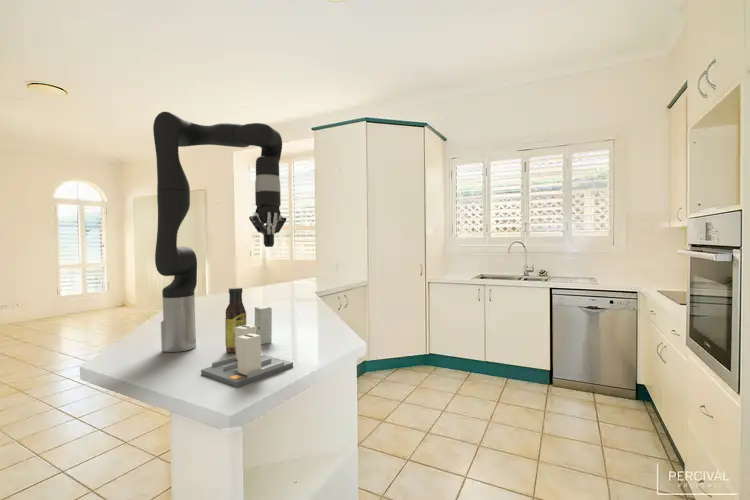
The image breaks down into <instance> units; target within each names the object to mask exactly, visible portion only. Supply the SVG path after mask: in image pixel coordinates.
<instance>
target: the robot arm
mask: <svg viewBox="0 0 750 500" xmlns="http://www.w3.org/2000/svg"><path fill="white" fill-rule="evenodd" d="M152 126H153V127H152V130H153V138H154V147H155V149H154V150H155V157H156V174H157V175H156V176H157V177H156V178H157V186H156V187H157V188H156V193H157V194H156V196H157V197H156V198H157V200H156V201H157V202H156V203H157V229H156V230H157V232H156V242H155V251H154V252H155V253H154V254H155V255H154V263H155V268H156V271H157V272H158V274H160V275H161V276H163V277H172V276H173V279H172V282H171V283H170V284H168V285H167V286H165V287H163V288H162V291H161V292H162V316H163V317H162V319H163V320H162V321H160V338H161V340H160V341H161V343H160V345H161V352H166V353H179V352H186V351H189V350H192V349H195V348H196V347H197V332H196V330H197V329H196V302H195V300H196V298H195V296H196V295H195V292H196V291H195V290H196V287H197V285H198V284H197V283H198V282H197V280H198V278H197V277H198V259H197V255H196V252H195V251H194V250H193V248H191V247H188V246H178V245H177V243H178V232H179V229H180V226H181V224H182V223H183V222H184V219H185V218H186V216H187V214H188V212H189V210H190V205H191V190H190V189H191V188H190V183H189V180H188V178H187V175H186V173H185V170H184V169H183V165H182V163H181V160H180V155H179V147H181V148H183V147H184V148H185V147H194V146H195V147H196V146H222V147H231V148H233V147H234V148H248V147H249V146H253V147H259V148H261V152H260V156H259V157H257V158H256V160H255V180H254V181H255V182H254V190H255V193H254V196H255V197H254V198H255V201H254V202H255V206H256V209H255V213H254V214H253V215H250V216H249V217H248V218H249V221H250V222H251V224H252V225H253V226H254V228H255V230H256V231H257V233H258V234H259V233H261V234H262V235H263V245H264V247H265V248H273V246H274V245H275V234H278V233H280V231H281V229H282V228H283V226H284V224H286V222H287V217H285V216H284V217H283V216H282V214H281V210H280V208H281V202H282V201H281V197H282V196H281V180H280V160H281V157H282V151H283V139H282V135H281V134H280V132H279V131H278V130H276V129H275V128H273V126H271V125H269V124H267V123H263V122H252V123H251V122H250V123H244V124H242V123H241V124H240V123H229V122H222V123H216V124H212V125H211V124H210V125H204V124H198V123H194V122H190V121H188V120H187V119H185V118H183V117H181V116H179V115H177V114H175V113H173V112H170V111H161V112H160V113H158V114H157V115H156V117H154V120H153V125H152Z"/></svg>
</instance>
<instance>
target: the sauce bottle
mask: <svg viewBox="0 0 750 500" xmlns="http://www.w3.org/2000/svg"><path fill="white" fill-rule="evenodd" d="M228 294H229V297H228V298H229V301H228V302H229V304H227V307H226V310H225V318H224V319H225V320H224V321H225V323H224V324H225V326H224V327H225V351H226V353H228V354H236V346H235V327H239V326H242V325H247V311H246V308H245V305H244V303H243V287H230V288H228Z"/></svg>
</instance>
